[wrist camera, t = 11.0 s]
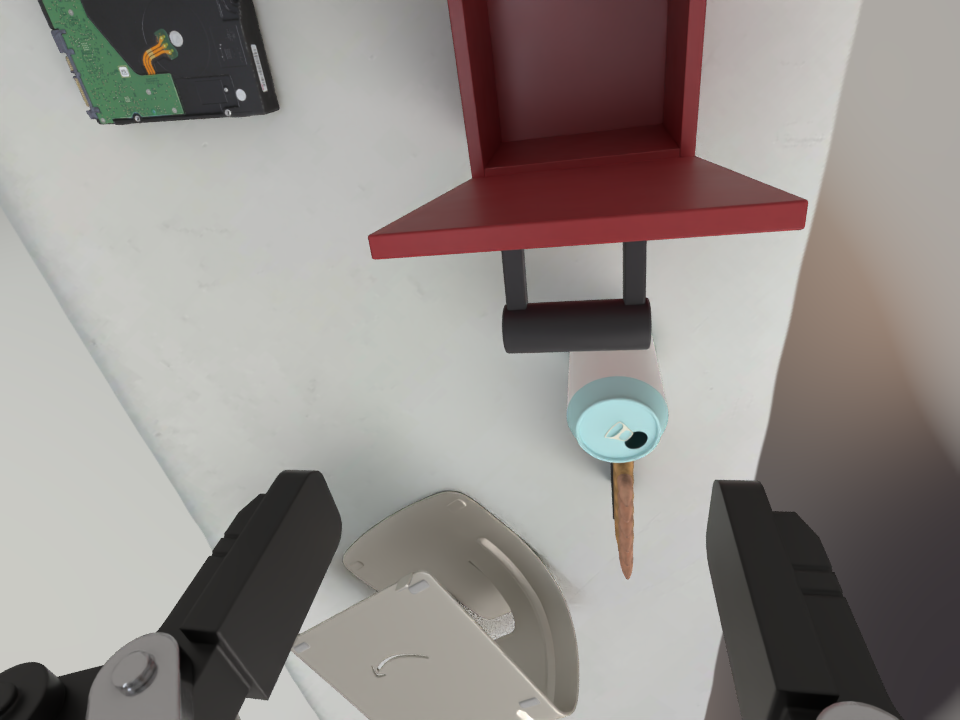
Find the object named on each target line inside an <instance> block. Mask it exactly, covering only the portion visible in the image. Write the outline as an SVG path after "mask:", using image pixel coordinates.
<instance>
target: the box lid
mask: <svg viewBox="0 0 960 720" xmlns="http://www.w3.org/2000/svg"><path fill="white" fill-rule="evenodd" d="M807 207H808V201H807V200H806V199H803V198H800V197H798V196H795V195H793V194H790V193H788V192H785V191H783V190H780V189H778V188H775V187H772V186H770V185H767V184H765V183H762V182H760V181H757V180H755V179H752V178H750V177H747V176H745V175H742V174H739V173H737V172H734V171H732V170H729V169H727V168H724V167H722V166H719V165H717V164H714V163H712V162H709V161H706V160H704V159H701V158H699V157H696V156H691V157H681V158H671V159H661V160H651V161H641V162H631V163H621V164H611V165H602V166H592V167H582V168H572V169H562V170H552V171H542V172H532V173H522V174H512V175H503V176H493V177H483V178H473V179H470V180H468V181H467V182H465V183H463V184H461V185H459V186H457V187H456V188H454V189H452V190H450V191H448V192H447V193H445V194H443V195H441V196H439V197H437V198H436V199H434V200H432V201H430V202H428V203H427V204H425V205H423V206H421V207H419V208H418V209H416V210H414V211H412V212H410V213H408V214H407V215H405V216H403V217H401V218H399V219H398V220H396V221H394V222H392V223H390V224H388V225H387V226H385V227H383V228H381V229H379V230H378V231H376V232H374V233H372V234H370V235H369V236H368V240H369V245H370V250H371V255H372V258H373V259H389V258H403V257H418V256H432V255H446V254H461V253H475V252H489V251H501V252H502V263H503V273H504V284H505V294H506V305H505V306H504V309H503V315H502V335H503V343H504V348H505V350H506V352H507V353H543V352H580V351H617V350H647V349H649V348H650V344H651V308H650V302H649V299H648V298H646V244H647V240H661V239H675V238H690V237H704V236H718V235H732V234H747V233H761V232H775V231H790V230H801V229H804V227H805V222H806V214H807ZM618 242H623V299H604V300H583V301H562V302H541V303H528V295H527V282H526V269H525V256H524V249H532V248H546V247H561V246H575V245H589V244H604V243H618Z"/></svg>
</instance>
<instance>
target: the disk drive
mask: <svg viewBox="0 0 960 720" xmlns="http://www.w3.org/2000/svg"><path fill="white" fill-rule="evenodd" d="M38 2H39V4H40V7H41V9H42V12H43V14H44V16H45V18H46V20H47V22H48V25H49V27H50V29H52V31H51V33H52V36H53V38H54V40H55V42H56V45H57V47H58V49H59V51H60V53H66V54H67V56H66V61H67V63H68V65H69V67H70V70H71V73H75V75H76V76H73V78H74V79H75V81H76V83H77V85H78V87H79V90H80V92H81V94H82V97H83V99H84V101H85V103H86V106H88V107H89V106H90V110H89V111H86V112H87V114H88V115H89V116H90V118H91V119H96V120H97V122H98V123H99V124H115V125H124V124H131V123H143V122H144V123H145V122H160V121H176V120H189V119H206V118H220V117H221V118H222V117H246V116H251V115H264V114H268V113H271V112H274V111H277V110H279V105H278V101H277V96H276V93H275V89H274V84H273V79H272V76H271V71H270V68H269V64H268V60H267V57H266V52H265V49H264V45H263V40H262V37H261V33H260V29H259V25H258V21H257V17H256V13H255V10H254V6H253V2H252V0H38Z"/></svg>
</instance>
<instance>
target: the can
mask: <svg viewBox="0 0 960 720" xmlns="http://www.w3.org/2000/svg"><path fill="white" fill-rule="evenodd" d="M567 422H568V426H569V428H570V430H571V432H572V434H573V435H574V436H575V438H576V439H577V441H578V443H579V445H580V446H581V447H582V448H583V450H584V451H586V452H587V453H588V454H589V455H591V456H593V457H595V458H597V459H599V460H602V461H606V462H612V463H625V462H631V461H635V460H638V459H640V458H642V457H644V456H646V455H647V454H649V453H650V452H651V451H652V450H653V449H654V448H655V447H656V446H657V444H658V443H659V441H660V438H661V435H662V434H663V432H664V430H665V428H666V425H667V422H668V408H667V403H666V398H665V393H664V389H663V384H662V379H661V374H660V370H659V365H658V360H657V355H656V350H655V346H654V341H653V337H652V334H651V344H650V348H649V349H647V350H617V351H580V352H570V354H569V375H568V396H567Z"/></svg>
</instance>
